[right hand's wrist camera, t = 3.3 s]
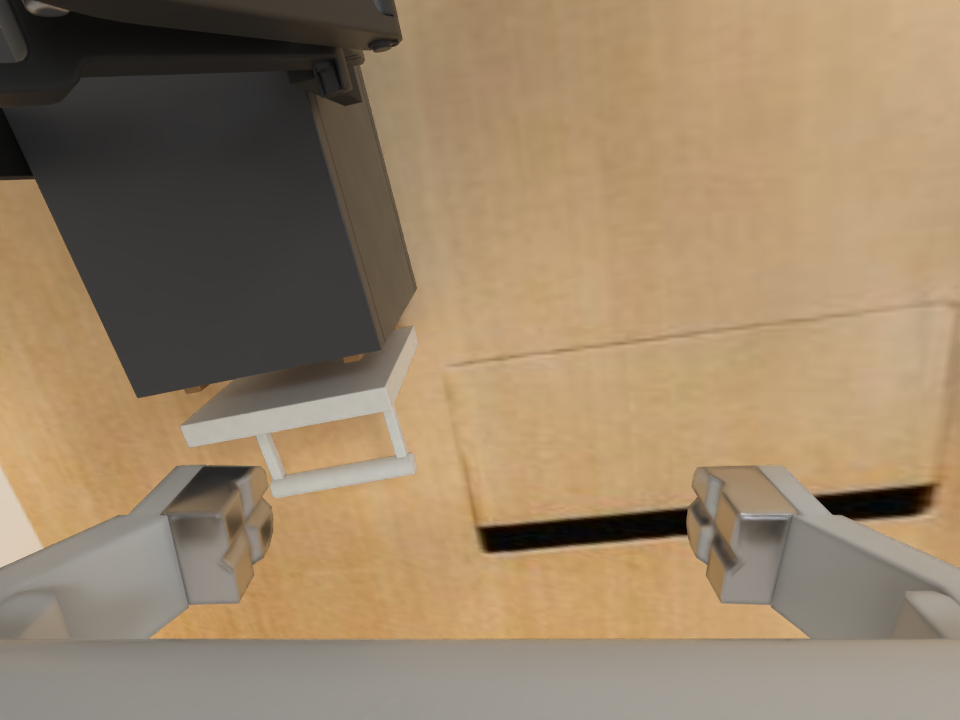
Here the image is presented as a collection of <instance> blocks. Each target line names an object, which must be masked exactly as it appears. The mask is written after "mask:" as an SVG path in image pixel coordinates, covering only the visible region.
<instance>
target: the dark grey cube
mask: <svg viewBox="0 0 960 720" xmlns="http://www.w3.org/2000/svg"><path fill="white" fill-rule="evenodd" d="M15 62H16V61H15V59H14V57H13V54H12V52H11V50H10V48H9V45H8V43H7V41H6V39H5V36H4V34H3V32H2V30H1V27H0V63H15ZM353 67H354V71H355V75H356V79H357V82H358V86H359V90H360V94H361V98H362V102H361V103H356V104H352V105H348V106H343V105H341V104H338V103H336V102H333V101H331V100H328V99H326V98H321V96H319V95H316V94H314V93H311V92H309V91H306V90H304V89H301V88H299V87H296V86H294V85H291V84H290V81H289V77H288V74H287V71H270V72H239V73H208V74H178V75H147V76H116V77H85V78H80V81H79V82H78V84H77V85H76V86H75V87H74V88H73V89H72V90H71V91H70V93H69V94H68V95H67V96H66V97H65V98H64V99H63V100H62V101H61V102H59V103H55V104H51V105H39V106H22V107H6V108H2V109H3V112H4V114H5V116H6V118H7V120H8V122H9V124H10V127H11V129H12V131H13V133H14V135H15V137H16V139H17V142H18V144H19V146H20V148H21V150H22V152H23V154H24V157H25V159H26V161H27V163H28V165H29V167H30V169H31V171H32V174H33V176H34V178H35V180H36V182H37V184H38V186H39V189H40V191H41V193H42V195H43V197H44V199H45V201H46V204H47V206H48V208H49V210H50V212H51V214H52V216H53V219H54V221H55V223H56V225H57V227H58V229H59V231H60V233H61V236H62V238H63V240H64V242H65V244H66V246H67V248H68V251H69V253H70V255H71V257H72V259H73V261H74V263H75V266H76V268H77V270H78V272H79V274H80V276H81V278H82V281H83V283H84V285H85V287H86V289H87V291H88V293H89V295H90V298H91V300H92V302H93V304H94V306H95V308H96V310H97V313H98V315H99V317H100V319H101V321H102V323H103V325H104V328H105V330H106V332H107V334H108V336H109V338H110V340H111V343H112V345H113V347H114V349H115V351H116V353H117V355H118V357H119V360H120V362H121V364H122V366H123V368H124V370H125V372H126V375H127V377H128V379H129V381H130V383H131V385H132V387H133V390H134V392H135V394H136V396H137V398H141V397H146V396H151V395H156V394H162V393H167V392H172V391H177V390H182V389H187V388H192V387H197V386H202V385H207V384H212V383H217V382H222V381H227V380H233V379H238V378H243V377H248V376H253V375H258V374H263V373H268V372H273V371H278V370H283V369H288V368H293V367H298V366H304V365H309V364H314V363H319V362H324V361H329V360H334V359H339V358H344V357H349V356H354V355H359V354H364V353H369V352H374V351H380V350H382V348H383V346H384V345H385V342H386V341H387V339H388V337H389V336H390V334H391V332H392V330H393V329H394V327H395V325H396V324H397V322H398V320H399V318H400V317H401V315H402V313H403V312H404V310H405V308H406V306H407V305H408V303H409V301H410V300H411V298H412V296H413V294H414V293H415V291H416V289H417V287H416V283H415V279H414V275H413V271H412V268H411V264H410V260H409V256H408V252H407V248H406V244H405V240H404V236H403V232H402V229H401V225H400V221H399V217H398V213H397V209H396V205H395V201H394V197H393V193H392V190H391V186H390V182H389V178H388V174H387V170H386V166H385V162H384V158H383V154H382V151H381V147H380V143H379V139H378V135H377V131H376V127H375V123H374V119H373V115H372V112H371V108H370V104H369V100H368V96H367V92H366V88H365V84H364V80H363V76H362V73H361V69H360V65H357V66H353Z"/></svg>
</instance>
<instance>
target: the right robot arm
mask: <svg viewBox="0 0 960 720" xmlns="http://www.w3.org/2000/svg"><path fill="white" fill-rule="evenodd" d="M267 488H268V482H267V477H266V472H265V470H264V469H263V468H262V467H261V466H224V465H209V466H207V465H182V466H176V467H175V468H174V469H173V470H172V471H171V472H170V473H169V474H168V475H167V476H166V477H165V478H164V479H163V480H162V481H161V482H160V483H159V484H158V485H157V486H156V487H155V488H154V489H153V490H152V491H151V492H150V493H149V494H148V495H147V496H146V497H145V498H144V499H143V500H142V501H141V502H140V503H139V504H138V505H137V506H136V507H135V508H134V509H133V510H132V511H131V512H130V513H129V514H128V515H118V516H116V517H114V518H111V519H109V520H107V521H105V522H102V523H100V524H98V525H96V526H93V527H91V528H89V529H87V530H84V531H82V532H80V533H78V534H75V535H73V536H71V537H69V538H66V539H64V540H62V541H60V542H57V543H55V544H53V545H51V546H49V547H46V548H44V549H42V550H40V551H37V552H35V553H33V554H31V555H28V556H26V557H24V558H22V559H19V560H17V561H15V562H13V563H10V564H8V565H6V566H4V567H1V568H0V720H960V568H958V567H956V566H954V565H952V564H949V563H947V562H945V561H943V560H940V559H938V558H936V557H934V556H931V555H929V554H927V553H925V552H922V551H920V550H918V549H916V548H914V547H911V546H909V545H907V544H905V543H902V542H900V541H898V540H896V539H893V538H891V537H889V536H887V535H884V534H882V533H880V532H878V531H875V530H873V529H871V528H869V527H866V526H864V525H862V524H860V523H858V522H855V521H853V520H851V519H849V518H846V517H844V516H842V515H832V514H831V513H830V512H829V511H828V510H827V509H826V508H825V507H824V506H823V505H822V504H821V503H820V502H819V501H818V500H817V499H816V498H815V497H814V496H813V495H812V494H811V493H810V492H809V491H808V490H807V489H806V488H805V487H804V486H803V485H802V484H801V483H800V482H799V481H798V480H797V479H796V478H795V477H794V476H793V475H792V474H791V473H790V472H789V471H788V470H787V469H786V468H785V467H783V466H780V465H755V466H716V467H697V469H696V471H695V473H694V476H693V482H692V488H693V490H694V491H695V493H696V494H697V496H698V497H697V498H696V500H695V501H694V502H693V503H692V504H691V505H690V506H689V507H688V514H687V532H688V539H689V542H690V545H691V548H692V550H693V552H694V554H695V556H696V558H698V559H699V560H701V561H702V562H704V563H705V564H707V565H708V566H707V572H706V576H707V578H708V580H709V582H710V584H711V585H712V587H713V589H714V591H715V593H716V594H717V596H718V598H719V600H720V602H721V603H726V604H762V605H771V607H772V608H773V609H774V610H776V611H777V612H778V613H779V614H781V615H782V616H783V617H784V618H786V619H787V620H788V621H790V622H791V623H792V624H793V625H795V626H796V627H797V628H798V629H800V630H801V631H802V632H804V633H805V634H806V635H807V636H809V637H810V638H811V639H149V638H150V637H152V636H153V635H154V634H155V633H157V632H158V631H159V630H160V629H162V628H163V627H164V626H166V625H167V624H168V623H169V622H171V621H172V620H173V619H174V618H176V617H177V616H178V615H180V614H181V613H182V612H183V611H185V610H186V609H187V608H188V607H189V605H197V604H232V603H239V602H240V600H241V598H242V596H243V595H244V593H245V591H246V589H247V587H248V585H249V584H250V582H251V580H252V578H253V576H254V572H253V566H252V565H253V564H255V563H256V562H258V561H259V560H261V559H262V558H264V556H265V554H266V552H267V550H268V548H269V546H270V542H271V537H272V533H273V513H272V507H271V506H270V505H269V504H268V503H267V502H266V501H265V500H264V499H263V497H262V496H263V494H264V493H265V491H266V490H267Z"/></svg>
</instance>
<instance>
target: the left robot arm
mask: <svg viewBox="0 0 960 720" xmlns="http://www.w3.org/2000/svg"><path fill="white" fill-rule="evenodd" d="M0 27H1V30H2V32H3V34H4V36H5V39H6V41H7V43H8V45H9V48H10V50H11V52H12V54H13V57H14V59H15V61H16V62H15V63H0V180H23V179H35V178H34V176H33V174H32V171H31V169H30V167H29V165H28V163H27V161H26V159H25V157H24V154H23V152H22V150H21V148H20V146H19V144H18V142H17V139H16V137H15V135H14V133H13V131H12V129H11V127H10V124H9V122H8V120H7V118H6V116H5V114H4V112H3V109H2V108H6V107H22V106H39V105H51V104H55V103H59V102H61V101H62V100H63V99H64V98H65V97H66V96H67V95H68V94H69V93H70V91H71V90H72V89H73V88H74V87H75V86H76V85H77V84H78V82H79V81H80V78H85V77H116V76H147V75H178V74H208V73H239V72H270V71H287V74H288V77H289V81H290V84H291V85H294V86H296V87H299V88H301V89H304V90H306V91H309V92H311V93H314V94H316V95H319V96H321V98H326V99H328V100H331V101H333V102H336V103H338V104H341V105H343V106H348V105H352V104H356V103H361V102H362V98H361V94H360V90H359V86H358V82H357V79H356V75H355V71H354V67H353V66H357V65H361V64H363V62H364V61H365V59H364V55H363V51H362V50H373V51H374V52H384V51H387V50H389V49H391V47H394V46H397V45H398V44H399V42H401V41H402V34H401V30H400V26H399V21H398V16H397V11H396V7H395V2H394V0H0Z"/></svg>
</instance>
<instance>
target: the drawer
mask: <svg viewBox="0 0 960 720" xmlns="http://www.w3.org/2000/svg"><path fill="white" fill-rule="evenodd" d="M417 346H418V340H417V336H416V332H415V328H414V326H410V327H405V328H400V329H395V330H392V332H391V334H390V336H389V337H388V339H387V341H386V342H385V345H384V346H383V348H382V350H380V351H374V352H369V353H364V354H359V355H354V356H349V357H344V358H339V359H334V360H329V361H324V362H319V363H314V364H309V365H304V366H298V367H293V368H288V369H283V370H278V371H273V372H268V373H263V374H258V375H253V376H248V377H243V378H238V379H234V380H233V381H232V382H231V383H230V384H228V385H227V386H226V387H225V388H224V389H223V390H221V391H220V392H219V393H218V394H217V395H216V396H214V397H213V398H212V399H211V400H210V401H209V402H207V403H206V404H205V405H204V406H203V407H202V408H200V409H199V410H198V411H197V412H196V413H195V414H193V415H192V416H191V417H190V418H189V419H188V420H186V421H185V422H184V423H183V424H182V425H181V426H180V428H181V431H182V433H183V435H184V437H185V440H186V442H187V444H188V446H189V448H191V447H196V446H202V445H207V444H212V443H218V442H223V441H229V440H234V439H239V438H245V437H250V436H256V438H257V441H258V443H259V446H260V448H261V451H262V453H263V456H264V459H265V461H266V464H267V466H268V469H269V471H270V474H271V476H272V480H271V483H270V489H271V493H272V495H273V497H275V498H281V497H287V496H292V495H298V494H304V493H310V492H315V491H321V490H327V489H333V488H338V487H344V486H350V485H356V484H361V483H367V482H373V481H378V480H384V479H390V478H396V477H401V476H407V475H413V474H415V473H416V460H415V456H414V454H413V453H408V450H407V447H406V443H405V440H404V436H403V433H402V430H401V426H400V423H399V419H398V416H397V412H396V409H395V406H394V403H395V400H396V398H397V395H398V393H399V390H400V388H401V385H402V383H403V380H404V378H405V375H406V373H407V370H408V368H409V365H410V363H411V360H412V358H413V356H414V353H415V351H416V348H417ZM208 385H209V384H207V385H202V386H197V387H192V388H187V389H184V390H185V392H186V394H189V393H194V392H199V391H202V390H203V389H204V388H206V387H207V386H208ZM379 412H383V415H384V418H385V421H386V425H387V428H388V431H389V435H390V438H391V441H392V445H393V448H394V451H395V456H389V457H384V458H378V459H372V460H367V461H361V462H356V463H350V464H344V465H339V466H333V467H327V468H322V469H316V470H311V471H305V472H299V473H294V474H288V475H286V472H285V469H284V467H283V464H282V461H281V459H280V456H279V454H278V451H277V448H276V446H275V443H274V441H273V438H272V435H271V432H277V431H282V430H288V429H293V428H298V427H304V426H309V425H314V424H320V423H325V422H330V421H336V420H341V419H347V418H352V417H357V416H363V415H368V414H373V413H379Z"/></svg>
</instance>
